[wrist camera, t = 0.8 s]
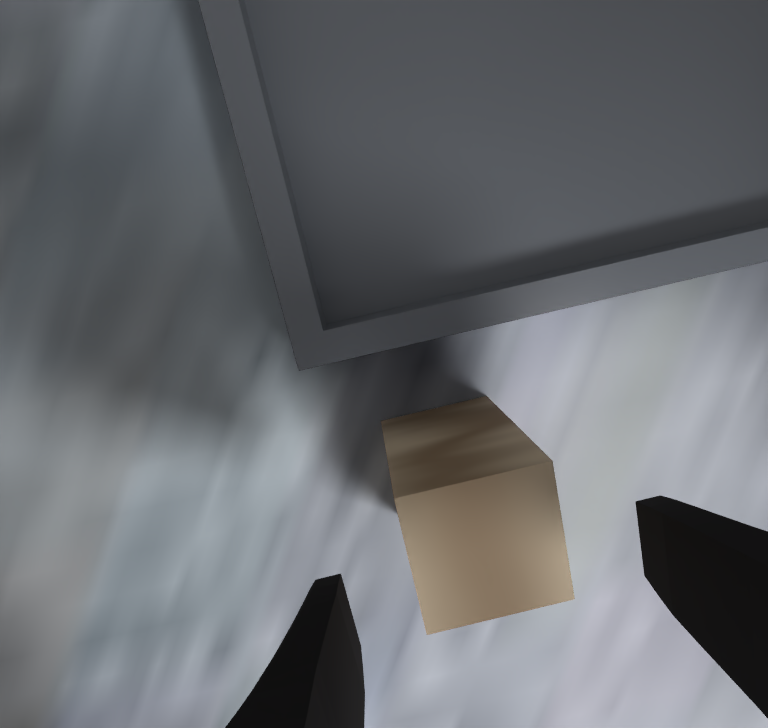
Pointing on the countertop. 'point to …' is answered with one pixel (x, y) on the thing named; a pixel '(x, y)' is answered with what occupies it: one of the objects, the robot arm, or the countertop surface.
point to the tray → (491, 155)
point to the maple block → (476, 514)
